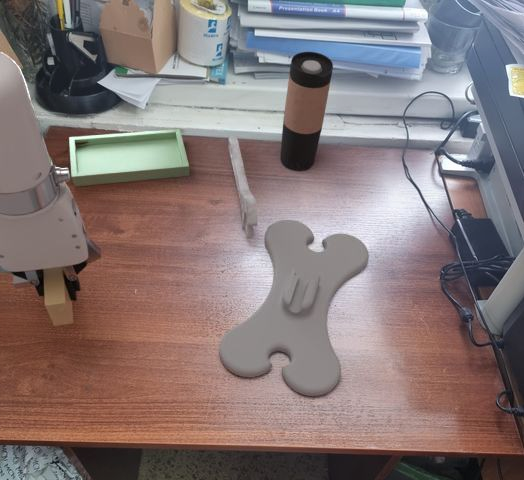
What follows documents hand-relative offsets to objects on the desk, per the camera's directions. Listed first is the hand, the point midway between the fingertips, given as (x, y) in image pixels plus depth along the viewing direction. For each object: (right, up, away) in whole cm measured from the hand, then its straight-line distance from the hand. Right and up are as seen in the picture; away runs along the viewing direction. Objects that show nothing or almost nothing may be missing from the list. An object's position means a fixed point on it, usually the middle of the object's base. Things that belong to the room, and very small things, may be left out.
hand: (61, 293), depth 67 cm
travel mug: (+34, +32, +38) cm, 60 cm away
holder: (+33, 0, +18) cm, 37 cm away
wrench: (+23, +23, +31) cm, 45 cm away
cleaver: (-3, +2, +1) cm, 4 cm away
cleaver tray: (0, +30, +34) cm, 45 cm away
